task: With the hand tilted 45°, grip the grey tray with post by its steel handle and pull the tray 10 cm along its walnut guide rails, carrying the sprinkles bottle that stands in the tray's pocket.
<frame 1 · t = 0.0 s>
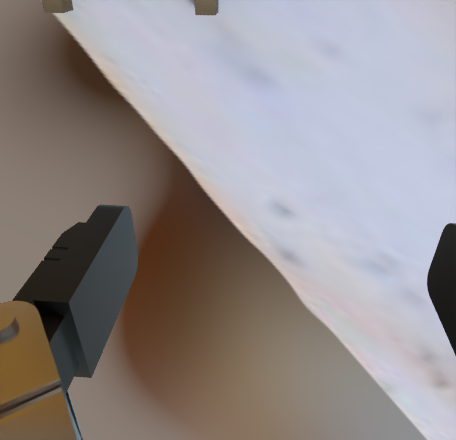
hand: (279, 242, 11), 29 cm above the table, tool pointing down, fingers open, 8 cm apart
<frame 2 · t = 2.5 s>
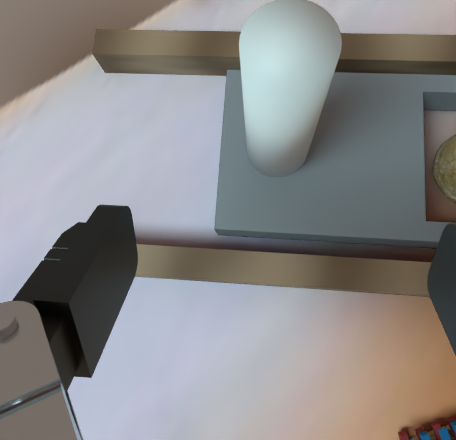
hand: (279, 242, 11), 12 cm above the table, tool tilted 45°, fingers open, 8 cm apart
guide rails: (345, 165, 24), on the table
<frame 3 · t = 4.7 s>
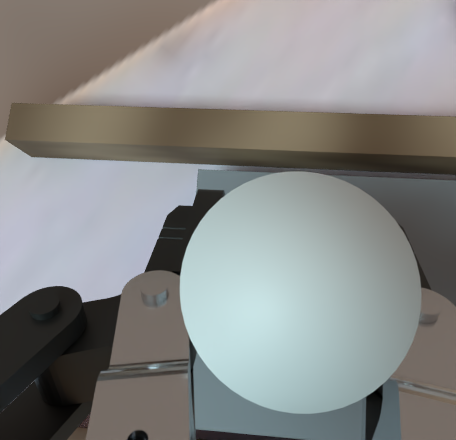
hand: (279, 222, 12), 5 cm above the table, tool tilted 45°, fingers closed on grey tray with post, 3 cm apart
guide rails: (372, 304, 16), on the table
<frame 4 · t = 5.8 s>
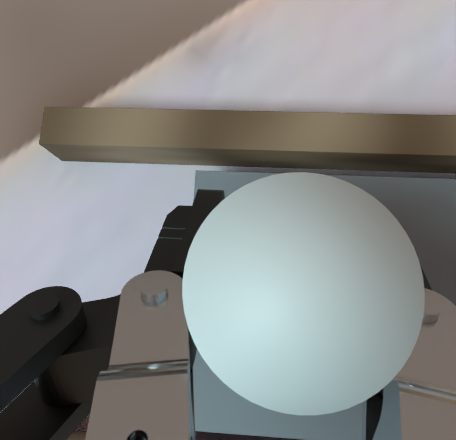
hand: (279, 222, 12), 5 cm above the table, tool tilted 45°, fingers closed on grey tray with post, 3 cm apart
guide rails: (412, 305, 16), on the table
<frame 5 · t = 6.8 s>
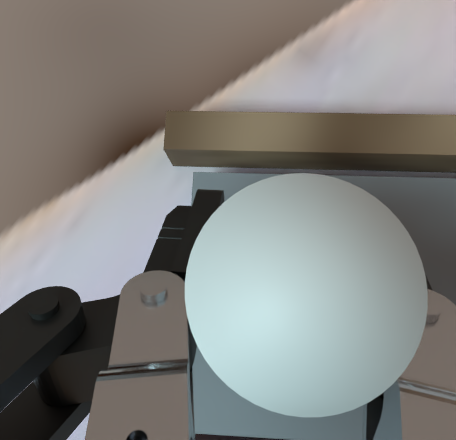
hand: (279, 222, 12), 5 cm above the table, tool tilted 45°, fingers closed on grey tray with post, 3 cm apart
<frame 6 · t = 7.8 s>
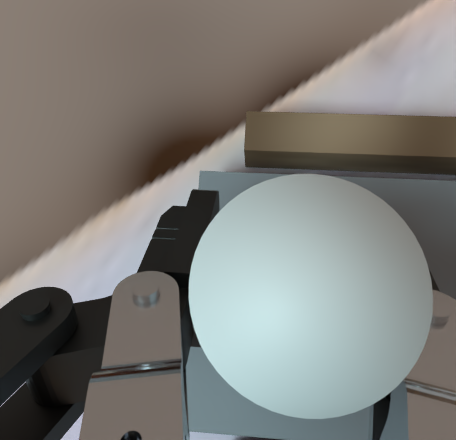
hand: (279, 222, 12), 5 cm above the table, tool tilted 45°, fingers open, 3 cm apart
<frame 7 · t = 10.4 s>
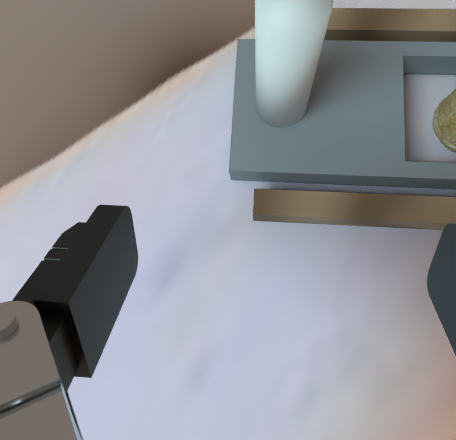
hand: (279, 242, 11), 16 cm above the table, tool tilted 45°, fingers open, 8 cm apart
grey tray with post: (437, 76, 22), point 6 cm above the table, slide at 9.6 cm
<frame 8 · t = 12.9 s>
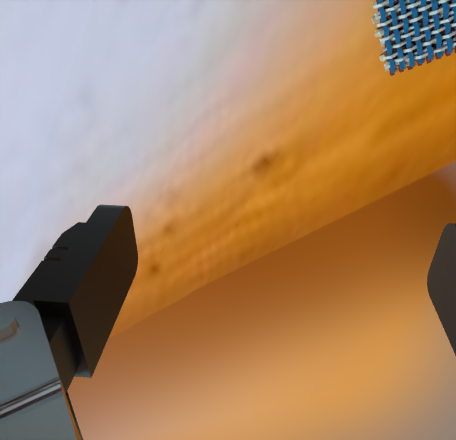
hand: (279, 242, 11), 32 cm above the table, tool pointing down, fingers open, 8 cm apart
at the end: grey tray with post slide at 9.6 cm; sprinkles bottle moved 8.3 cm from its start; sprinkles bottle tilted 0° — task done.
